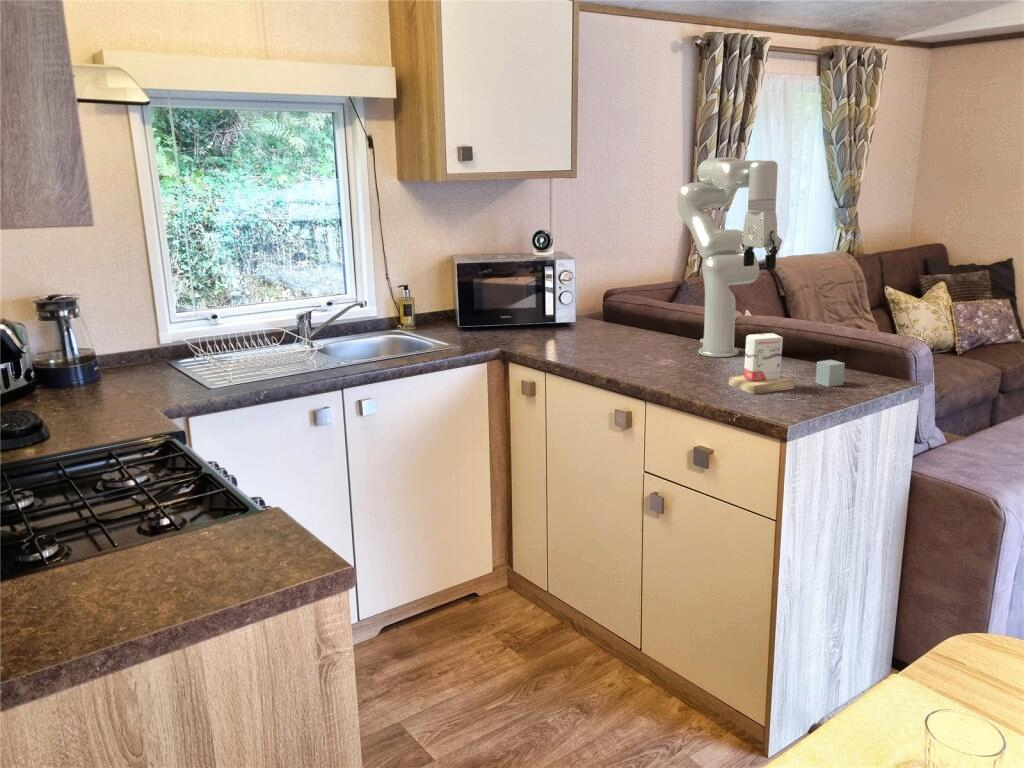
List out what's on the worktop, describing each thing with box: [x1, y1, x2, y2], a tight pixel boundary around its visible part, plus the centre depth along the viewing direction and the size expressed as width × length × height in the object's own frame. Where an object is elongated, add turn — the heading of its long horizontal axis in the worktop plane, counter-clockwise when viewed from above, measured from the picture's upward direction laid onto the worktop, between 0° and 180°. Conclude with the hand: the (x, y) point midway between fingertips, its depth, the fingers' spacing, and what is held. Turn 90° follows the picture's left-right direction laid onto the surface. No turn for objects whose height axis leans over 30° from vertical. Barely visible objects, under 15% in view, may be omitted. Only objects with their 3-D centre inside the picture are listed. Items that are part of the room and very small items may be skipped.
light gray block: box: [815, 359, 846, 388], centre depth 218 cm, size 5×5×6 cm
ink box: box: [743, 332, 784, 381], centre depth 216 cm, size 9×5×12 cm, turn 103°
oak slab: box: [728, 374, 795, 395], centre depth 218 cm, size 11×13×3 cm
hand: (759, 267), depth 228 cm, fingers open, 9 cm apart
